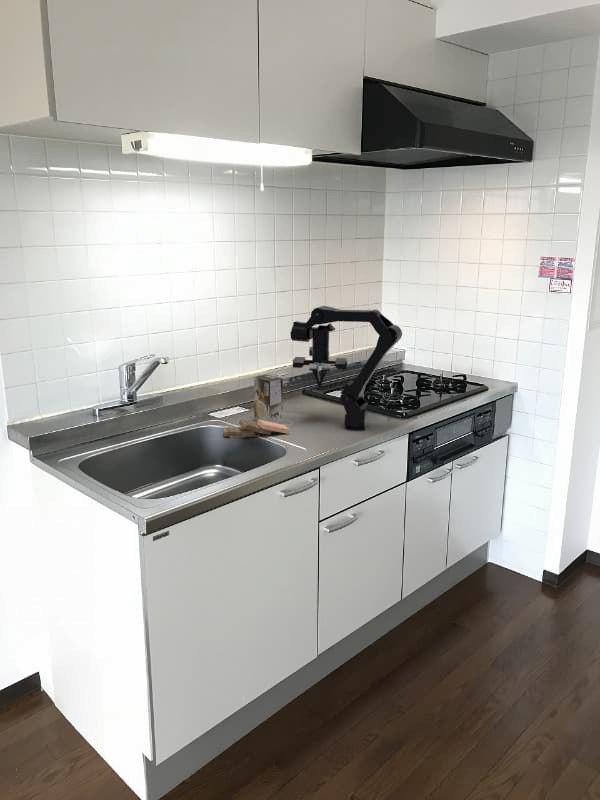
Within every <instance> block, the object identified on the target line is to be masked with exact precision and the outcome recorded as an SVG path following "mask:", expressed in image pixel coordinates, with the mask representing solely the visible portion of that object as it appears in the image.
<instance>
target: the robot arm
mask: <svg viewBox="0 0 600 800" xmlns="http://www.w3.org/2000/svg"><path fill="white" fill-rule="evenodd" d="M335 322H353V323H355V322H357V323H369V324H370V325H371V326H372V328H373V330H374V331H375V332H376V334H378V339H377V341H376V346H375V349H374V350H373V351H372V353H371V355H370V356H369V358H368V360H367V361H366V363H365V364H364V366H363V367H362V368H361V370H360V371H359V373H358V375H357V376H356V378H355V380H352V379H351V380H350V381H349V382H347V383H346V384H345V385H344V387H343V389H342V390H341V391H340V392H339V394H340V396H339V400H340V403H341V405H343V408H344V411H345V413H344V427H345V430H351V429H353V430H354V431H355V430H357V431H365V430H366V427H365V426H366V425H365V424H366V423H365V422H366V420H365V418H366V408H367V406H368V401H367V400H366V399H365V398H364V397H363V394H364V393H365V389H366V386H367V384H368V383H369V381H370V380H371V378H372V376H373V374H374V373H375V371H376V370H377V368H379V365H380V364H381V363H382V361H383V359H384V358H385V356H386V354H387V353H388V352H389V351H390V350H391V349H392V348H393V347H394V346H395V345H396V344H398V343H399V341H400V340H401V339H402V336H403V330H402V329H401V328H400V326H398V325H396V324H394V323H393V322H392V321H391V320H389V319H388V318H387V317H386V316H384V315H383V314H382V313H381V312H380V310H378V309H339V308H336V307H331V306H327V305H322V306H317V307H315V308H313V310H312V311H311V312H310V317H309V318H308V319H307V321H306V322H301V321H297V320H296V321H293V323H292V324H293V325H292V327H291V330H290V332H289V333H290V334H289V335H290V339H291V341H292V342H302V343H303V342H304V343H308V342H310V341H311V340H312V346H309V351H308V353H309V354H308V355H309V357H311V359H306V356H295V357H293V360H292V368H295V369H299V368H300V369H302V368H303V367H304V366H309V368H308V371H311V372H312V374H313V376H314V378H315V382H316V385H317V387H318V388H322V384H323V382H324V379H325V376H326V374H327V372H331V369H332V367H335V368H336V369H337V370H347V369H348V359H347V358H346V357H345V358H344V357H343V358H341V357H338V358H337V357H336V359H335V360H330V351H329V350H330V332H334V331H335V330H336V328H335V327H334V326H333V325H332V323H335ZM326 324H327V325H326ZM317 325H318V326H317ZM315 326H317V327H315ZM320 366H322V367H321V372H320V369H319V367H320Z"/></svg>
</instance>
